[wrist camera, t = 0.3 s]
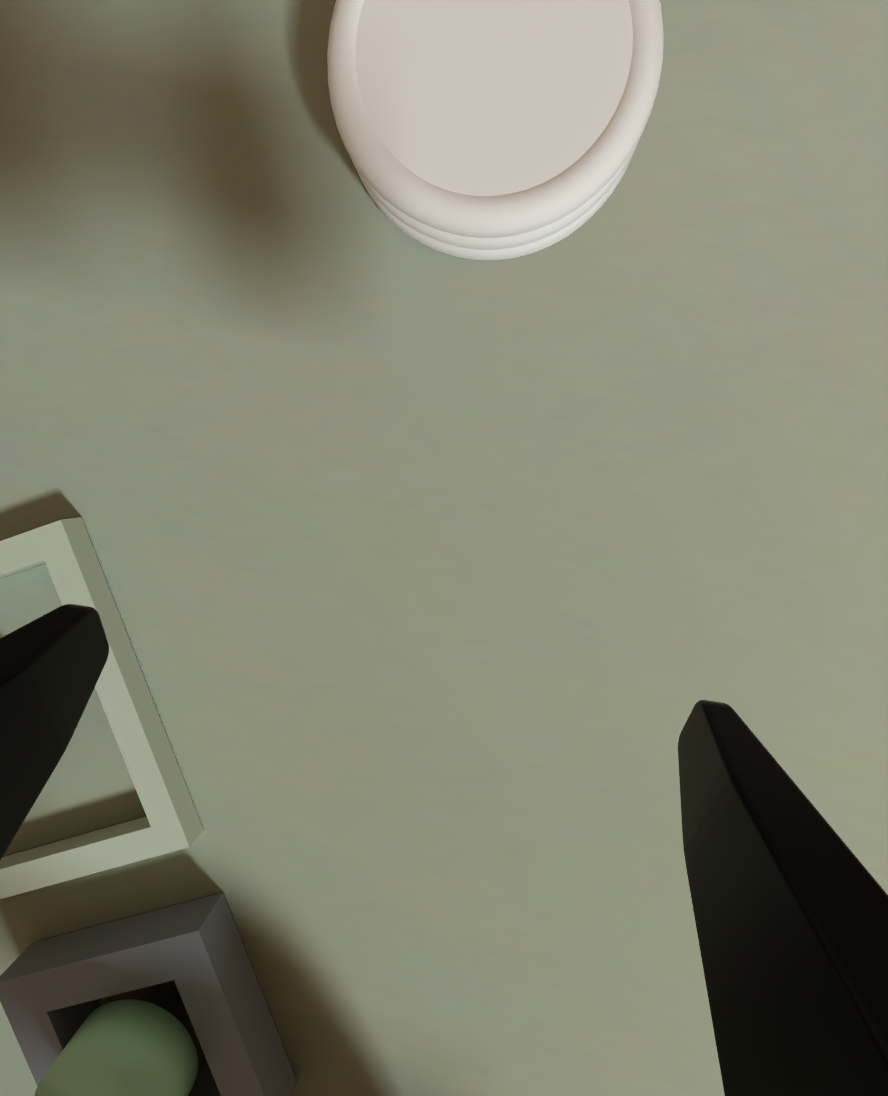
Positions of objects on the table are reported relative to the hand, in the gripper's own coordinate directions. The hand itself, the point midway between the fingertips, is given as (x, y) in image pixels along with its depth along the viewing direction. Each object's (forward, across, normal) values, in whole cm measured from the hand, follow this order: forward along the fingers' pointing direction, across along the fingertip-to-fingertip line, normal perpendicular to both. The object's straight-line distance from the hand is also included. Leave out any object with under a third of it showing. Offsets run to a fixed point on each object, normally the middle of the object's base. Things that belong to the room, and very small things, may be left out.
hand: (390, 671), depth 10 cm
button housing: (+2, +9, +26) cm, 28 cm away
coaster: (+20, 0, -6) cm, 21 cm away
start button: (0, +9, +25) cm, 27 cm away
